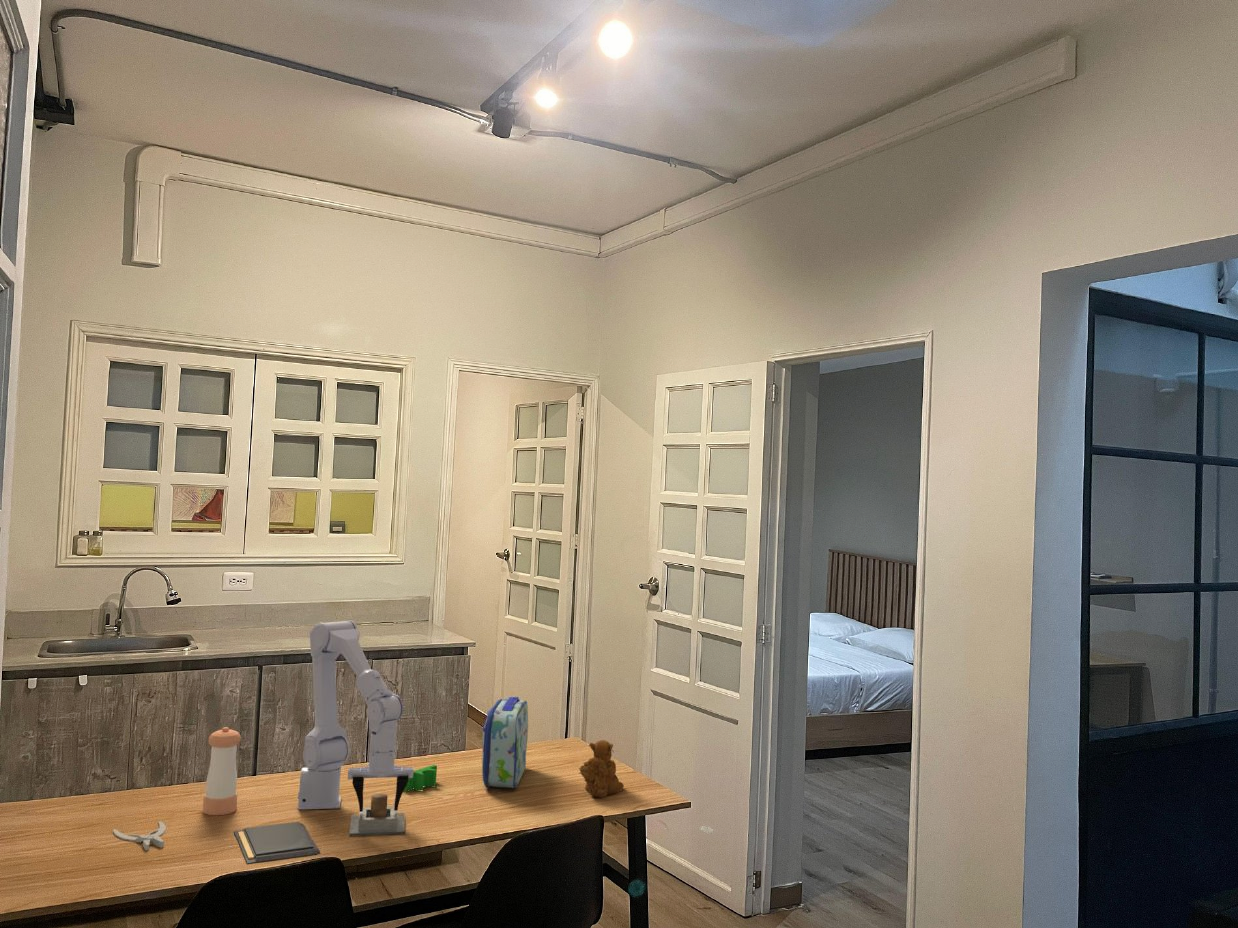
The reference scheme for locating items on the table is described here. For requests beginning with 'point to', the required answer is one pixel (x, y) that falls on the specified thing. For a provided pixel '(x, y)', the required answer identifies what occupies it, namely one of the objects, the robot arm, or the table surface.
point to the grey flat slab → (275, 842)
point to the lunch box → (505, 743)
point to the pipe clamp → (422, 778)
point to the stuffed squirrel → (601, 771)
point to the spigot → (378, 805)
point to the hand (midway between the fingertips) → (378, 809)
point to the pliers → (145, 837)
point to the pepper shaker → (222, 773)
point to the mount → (377, 823)
